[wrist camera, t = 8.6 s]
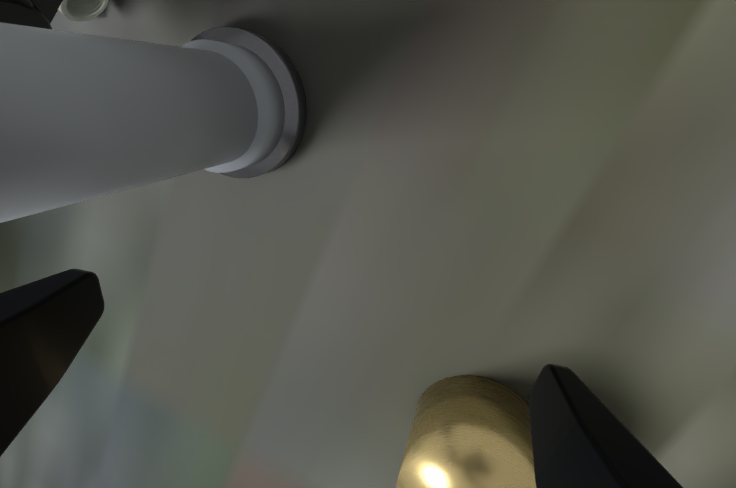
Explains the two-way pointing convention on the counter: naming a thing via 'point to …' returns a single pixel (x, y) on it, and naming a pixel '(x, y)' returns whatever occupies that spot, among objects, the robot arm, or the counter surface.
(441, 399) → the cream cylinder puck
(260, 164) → the dark grey metal disc
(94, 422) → the counter surface
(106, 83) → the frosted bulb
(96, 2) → the pneumatic valve
